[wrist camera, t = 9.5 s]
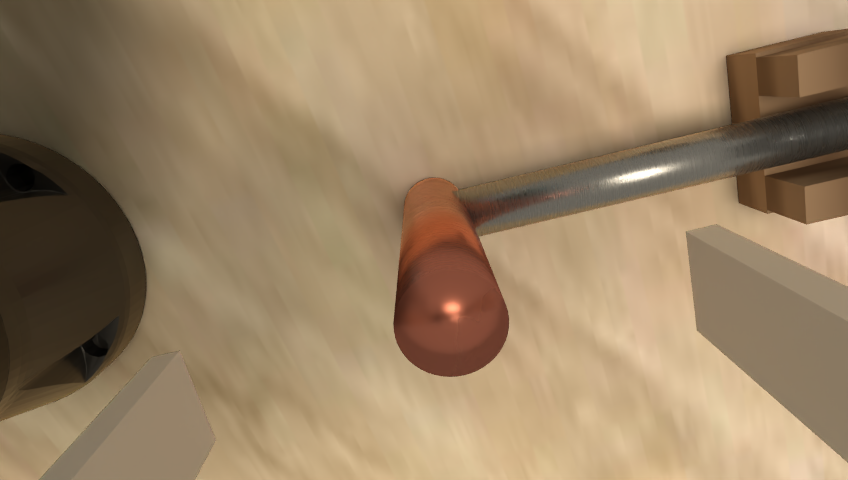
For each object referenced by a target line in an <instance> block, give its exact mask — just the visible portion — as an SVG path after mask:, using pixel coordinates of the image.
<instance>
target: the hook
mask: <svg viewBox="0 0 848 480" xmlns="http://www.w3.org/2000/svg"><path fill="white" fill-rule="evenodd" d="M845 150H848V97H845V98H840V99H836V100H832V101H828V102H824V103H820V104H815V105H811V106H807V107H803V108H799V109H794V110H790V111H786V112H782V113H778V114H774V115H769V116H765V117H761V118H757V119H753V120H749V121H744V122H740V123H736V124H732V125H728V126H724V127H719V128H715V129H711V130H707V131H703V132H698V133H694V134H690V135H686V136H682V137H678V138H673V139H669V140H665V141H661V142H657V143H653V144H648V145H644V146H640V147H636V148H632V149H628V150H623V151H619V152H615V153H611V154H607V155H602V156H598V157H594V158H590V159H586V160H582V161H577V162H573V163H569V164H565V165H561V166H557V167H552V168H548V169H544V170H540V171H536V172H532V173H527V174H523V175H519V176H515V177H511V178H506V179H502V180H498V181H494V182H490V183H486V184H481V185H477V186H473V187H469V188H465V189H461V190H458V189H457V187H456V186H455V185H454V184H452V183H451V182H449V181H447V180H445V179H441V178H428V179H424V180H422V181H420V182H418V183H417V184H415V185H414V186H413V187H412V188H411V189H410V191H409V192H408V194H407V196H406V199H405V204H404V215H403V226H402V237H401V248H400V258H399V269H398V280H397V291H396V302H395V313H394V333H395V338H396V341H397V344H398V346H399V348H400V350H401V351H402V353H403V354H404V355H405V357H406V358H407V359H408V360H409V361H410V362H411V363H413V364H414V365H415V366H417V367H418V368H420V369H421V370H424V371H426V372H428V373H431V374H434V375H439V376H447V377H453V376H462V375H466V374H470V373H472V372H475V371H477V370H479V369H481V368H483V367H484V366H486V365H487V364H488V363H490V362H491V361H492V360H493V359H494V358H495V357H496V356H497V354H498V353H499V352H500V350H501V349H502V347H503V345H504V343H505V341H506V338H507V334H508V329H509V316H508V310H507V307H506V304H505V302H504V299H503V297H502V294H501V292H500V289H499V287H498V284H497V282H496V279H495V277H494V274H493V272H492V269H491V267H490V264H489V262H488V259H487V257H486V254H485V252H484V249H483V247H482V244H481V242H480V239H479V237H478V236H483V235H487V234H491V233H495V232H500V231H504V230H508V229H513V228H517V227H521V226H525V225H530V224H534V223H538V222H542V221H547V220H551V219H555V218H559V217H564V216H568V215H572V214H576V213H581V212H585V211H589V210H593V209H598V208H602V207H606V206H610V205H615V204H619V203H623V202H627V201H632V200H636V199H640V198H645V197H649V196H653V195H657V194H662V193H666V192H670V191H674V190H679V189H683V188H687V187H691V186H696V185H700V184H704V183H708V182H713V181H717V180H721V179H725V178H730V177H734V176H738V175H742V174H747V173H751V172H755V171H760V170H764V169H768V168H772V167H777V166H781V165H785V164H789V163H794V162H798V161H802V160H806V159H811V158H815V157H819V156H823V155H828V154H832V153H836V152H840V151H845Z"/></svg>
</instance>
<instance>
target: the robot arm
mask: <svg viewBox="0 0 848 480" xmlns="http://www.w3.org/2000/svg"><path fill="white" fill-rule="evenodd" d="M686 237H687V246H688V255H689V264H690V273H691V282H692V291H693V300H694V309H695V318H696V327H697V331H698V332H699V333H701V334H702V335H703V336H704V337H705V338H706V339H707V340H709V341H710V342H711V343H712V344H713V345H714V346H715V347H717V348H718V349H719V350H720V351H721V352H722V353H723V354H724V355H726V356H727V357H728V358H729V359H730V360H731V361H732V362H734V363H735V364H736V365H737V366H738V367H739V368H740V369H742V370H743V371H744V372H745V373H746V374H747V375H748V376H750V377H751V378H752V379H753V380H754V381H755V382H756V383H758V384H759V385H760V386H761V387H762V388H763V389H764V390H766V391H767V392H768V393H769V394H770V395H771V396H772V397H774V398H775V399H776V400H777V401H778V402H779V403H780V404H782V405H783V406H784V407H785V408H786V409H787V410H788V411H790V412H791V413H792V414H793V415H794V416H795V417H796V418H798V419H799V420H800V421H801V422H802V423H803V424H804V425H806V426H807V427H808V428H809V429H810V430H811V431H812V432H814V433H815V434H816V435H817V436H818V437H819V438H820V439H822V440H823V441H824V442H825V443H826V444H827V445H828V446H830V447H831V448H832V449H833V450H834V451H835V452H836V453H838V454H839V455H840V456H841V457H842V458H843V459H844V460H845V461H847V462H848V287H847V286H845V285H843V284H841V283H839V282H837V281H835V280H832V279H830V278H828V277H826V276H824V275H822V274H820V273H818V272H816V271H814V270H811V269H809V268H807V267H805V266H803V265H801V264H799V263H797V262H795V261H793V260H790V259H788V258H786V257H784V256H782V255H780V254H778V253H776V252H774V251H772V250H769V249H767V248H765V247H763V246H761V245H759V244H757V243H755V242H753V241H751V240H748V239H746V238H744V237H742V236H740V235H738V234H736V233H734V232H732V231H730V230H727V229H725V228H723V227H721V226H719V225H717V224H716V225H711V226H707V227H703V228H699V229H694V230H690V231H686ZM145 293H146V278H145V269H144V263H143V258H142V255H141V251H140V248H139V245H138V242H137V239H136V237H135V235H134V232H133V230H132V228H131V226H130V224H129V222H128V220H127V219H126V217H125V215H124V214H123V212H122V211H121V209H120V208H119V206H118V205H117V204H116V202H115V201H114V200H113V199H112V197H111V196H110V195H109V194H108V193H107V191H106V190H105V189H104V188H103V187H102V186H101V185H100V184H99V183H98V182H97V181H96V180H95V179H94V178H92V177H91V176H90V175H89V174H88V173H86V172H85V171H84V170H83V169H81V168H80V167H79V166H77V165H76V164H74V163H73V162H71V161H70V160H68V159H67V158H65V157H63V156H61V155H60V154H58V153H56V152H54V151H52V150H50V149H48V148H46V147H43V146H41V145H38V144H36V143H33V142H30V141H27V140H24V139H20V138H16V137H12V136H6V135H0V421H2V420H5V419H8V418H11V417H13V416H16V415H19V414H22V413H24V412H27V411H30V410H32V409H35V408H38V407H41V406H43V405H46V404H49V403H51V402H54V401H57V400H59V399H62V398H64V397H66V396H68V395H70V394H72V393H74V392H75V391H77V390H79V389H80V388H82V387H83V386H85V385H86V384H88V383H89V382H90V381H92V380H93V379H94V378H95V377H96V376H98V375H99V374H100V373H101V372H102V371H103V370H104V369H105V368H106V367H107V366H108V365H109V364H111V363H112V362H113V361H114V360H115V359H116V358H117V357H118V356H119V355H120V354H121V353H122V352H123V350H124V349H125V348H126V346H127V345H128V344H129V342H130V340H131V339H132V337H133V335H134V333H135V332H136V330H137V327H138V325H139V322H140V319H141V316H142V313H143V308H144V302H145ZM215 441H216V439H215V436H214V434H213V431H212V429H211V426H210V424H209V421H208V419H207V417H206V414H205V412H204V409H203V407H202V404H201V402H200V399H199V397H198V394H197V392H196V389H195V387H194V384H193V382H192V379H191V377H190V375H189V372H188V370H187V367H186V365H185V362H184V360H183V357H182V355H181V352H180V351H176V352H171V353H167V354H163V355H159V356H154V357H151V358H150V359H149V360H148V361H147V363H146V364H145V365H144V366H143V367H142V368H141V369H140V370H139V371H138V372H137V373H136V375H135V376H134V377H133V378H132V379H131V380H130V381H129V382H128V383H127V384H126V385H125V387H124V388H123V389H122V390H121V391H120V392H119V393H118V394H117V395H116V396H115V397H114V398H113V400H112V401H111V402H110V403H109V404H108V405H107V406H106V407H105V408H104V409H103V410H102V412H101V413H100V414H99V415H98V416H97V417H96V418H95V419H94V420H93V421H92V422H91V424H90V425H89V426H88V427H87V428H86V429H85V430H84V431H83V432H82V433H81V434H80V436H79V437H78V438H77V439H76V440H75V441H74V442H73V443H72V444H71V445H70V446H69V448H68V449H67V450H66V451H65V452H64V453H63V454H62V455H61V456H60V457H59V458H58V460H57V461H56V462H55V463H54V464H53V465H52V466H51V467H50V468H49V469H48V470H47V472H46V473H45V474H44V475H43V476H42V477H41V478H40V479H39V480H195V479H196V477H197V475H198V473H199V471H200V469H201V467H202V465H203V463H204V462H205V460H206V458H207V456H208V454H209V452H210V450H211V448H212V446H213V445H214V443H215Z"/></svg>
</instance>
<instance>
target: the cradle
mask: <svg viewBox="0 0 848 480" xmlns="http://www.w3.org/2000/svg"><path fill="white" fill-rule="evenodd" d="M726 58H727V70H728V81H729V93H730V104H731V116H732V124H736V123H740V122H744V121H749V120H753V119H757V118H761V117H765V116H769V115H774V114H778V113H782V112H786V111H790V110H794V109H799V108H803V107H807V106H811V105H815V104H820V103H824V102H828V101H832V100H836V99H840V98H845V97H848V29H843V30H835V31H826V32H821V33H817V34H813V35H809V36H805V37H801V38H797V39H792V40H788V41H784V42H780V43H776V44H772V45H768V46H764V47H760V48H756V49H752V50H748V51H744V52H740V53H736V54H731V55H727V56H726ZM737 184H738V196H739V203H741V204H743V205H746V206H748V207H751V208H754V209H756V210H759V211H762V212H764V213H767V214H768V213H772V212H774V213H777V214H780V215H782V216H785V217H788V218H791V219H793V220H796V221H799V222H801V223H804V224H810V223H815V222H819V221H823V220H828V219H832V218H837V217H841V216H845V215H848V150H845V151H840V152H836V153H832V154H828V155H823V156H819V157H815V158H811V159H806V160H802V161H798V162H794V163H789V164H785V165H781V166H777V167H772V168H768V169H764V170H760V171H755V172H751V173H747V174H742V175H738V176H737Z"/></svg>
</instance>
